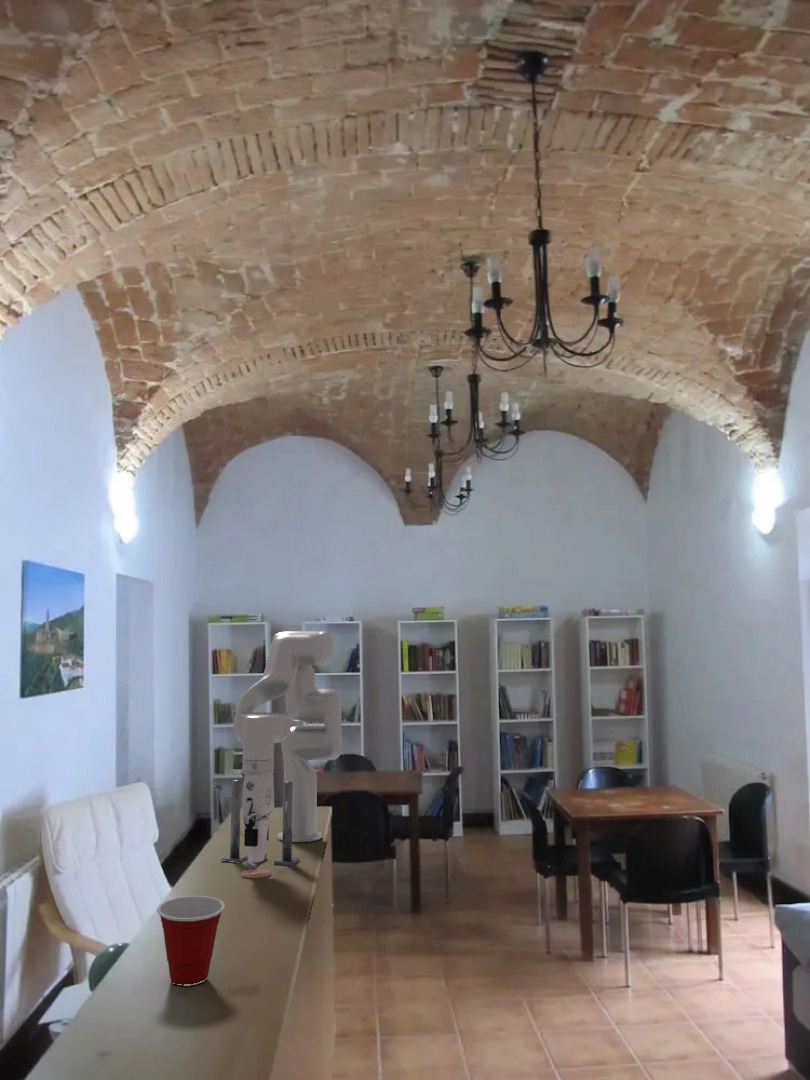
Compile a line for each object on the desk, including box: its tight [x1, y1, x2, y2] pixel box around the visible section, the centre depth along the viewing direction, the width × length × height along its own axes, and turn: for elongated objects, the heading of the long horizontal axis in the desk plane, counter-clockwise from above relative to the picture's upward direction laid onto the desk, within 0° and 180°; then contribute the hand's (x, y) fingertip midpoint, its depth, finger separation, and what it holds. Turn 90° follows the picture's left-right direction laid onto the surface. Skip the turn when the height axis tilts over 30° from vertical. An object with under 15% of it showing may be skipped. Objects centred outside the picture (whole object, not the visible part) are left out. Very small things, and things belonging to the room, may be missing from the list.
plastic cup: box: [156, 895, 226, 985], centre depth 151 cm, size 11×11×12 cm
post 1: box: [221, 779, 248, 863], centre depth 238 cm, size 5×5×20 cm
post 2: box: [273, 781, 300, 866], centre depth 235 cm, size 5×5×20 cm
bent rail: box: [246, 852, 268, 870], centre depth 232 cm, size 14×3×2 cm, turn 168°
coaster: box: [240, 868, 272, 880], centre depth 221 cm, size 7×7×1 cm
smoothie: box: [246, 816, 271, 863], centre depth 222 cm, size 6×6×14 cm
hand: (256, 842), depth 222 cm, fingers closed on smoothie, 6 cm apart
